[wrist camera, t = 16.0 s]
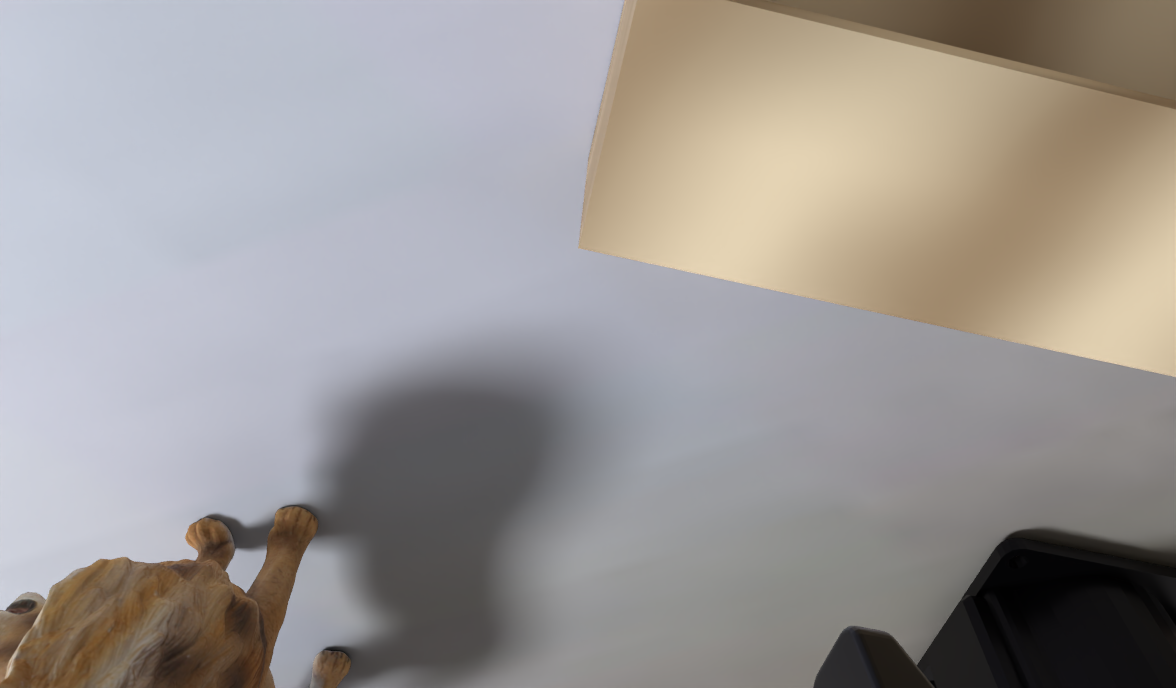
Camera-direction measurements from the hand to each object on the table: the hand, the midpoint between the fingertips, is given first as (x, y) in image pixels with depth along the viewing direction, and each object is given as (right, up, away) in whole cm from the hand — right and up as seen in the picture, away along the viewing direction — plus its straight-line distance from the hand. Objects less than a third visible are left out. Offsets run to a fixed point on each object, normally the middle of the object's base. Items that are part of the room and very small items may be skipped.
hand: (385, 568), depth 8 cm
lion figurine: (-8, -5, +18) cm, 21 cm away
